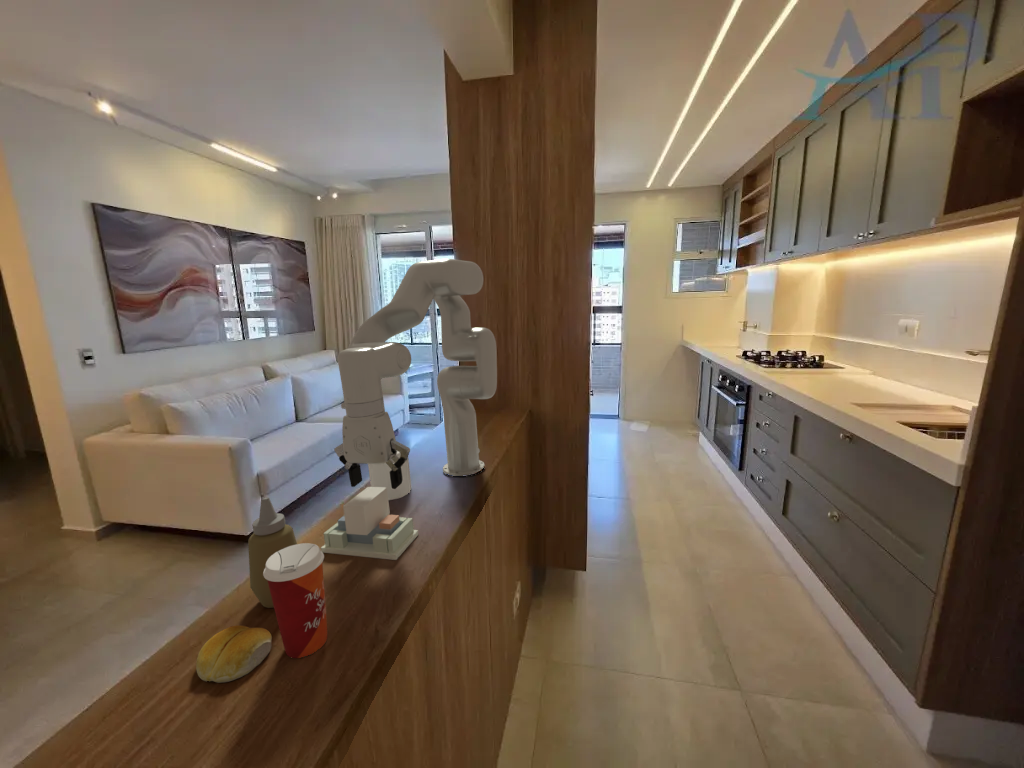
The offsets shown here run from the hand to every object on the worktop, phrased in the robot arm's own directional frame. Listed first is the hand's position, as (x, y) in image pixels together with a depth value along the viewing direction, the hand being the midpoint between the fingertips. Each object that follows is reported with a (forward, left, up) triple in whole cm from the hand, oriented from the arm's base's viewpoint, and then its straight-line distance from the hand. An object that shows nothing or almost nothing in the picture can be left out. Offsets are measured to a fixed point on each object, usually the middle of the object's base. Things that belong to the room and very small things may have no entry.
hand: (376, 485), depth 89 cm
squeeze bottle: (+22, -6, -12) cm, 26 cm away
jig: (+4, 0, -11) cm, 12 cm away
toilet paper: (-20, -9, -12) cm, 25 cm away
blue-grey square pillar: (+4, 0, -10) cm, 11 cm away
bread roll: (+34, -2, -12) cm, 36 cm away
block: (+4, 0, -7) cm, 8 cm away
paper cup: (+30, +6, -12) cm, 32 cm away
